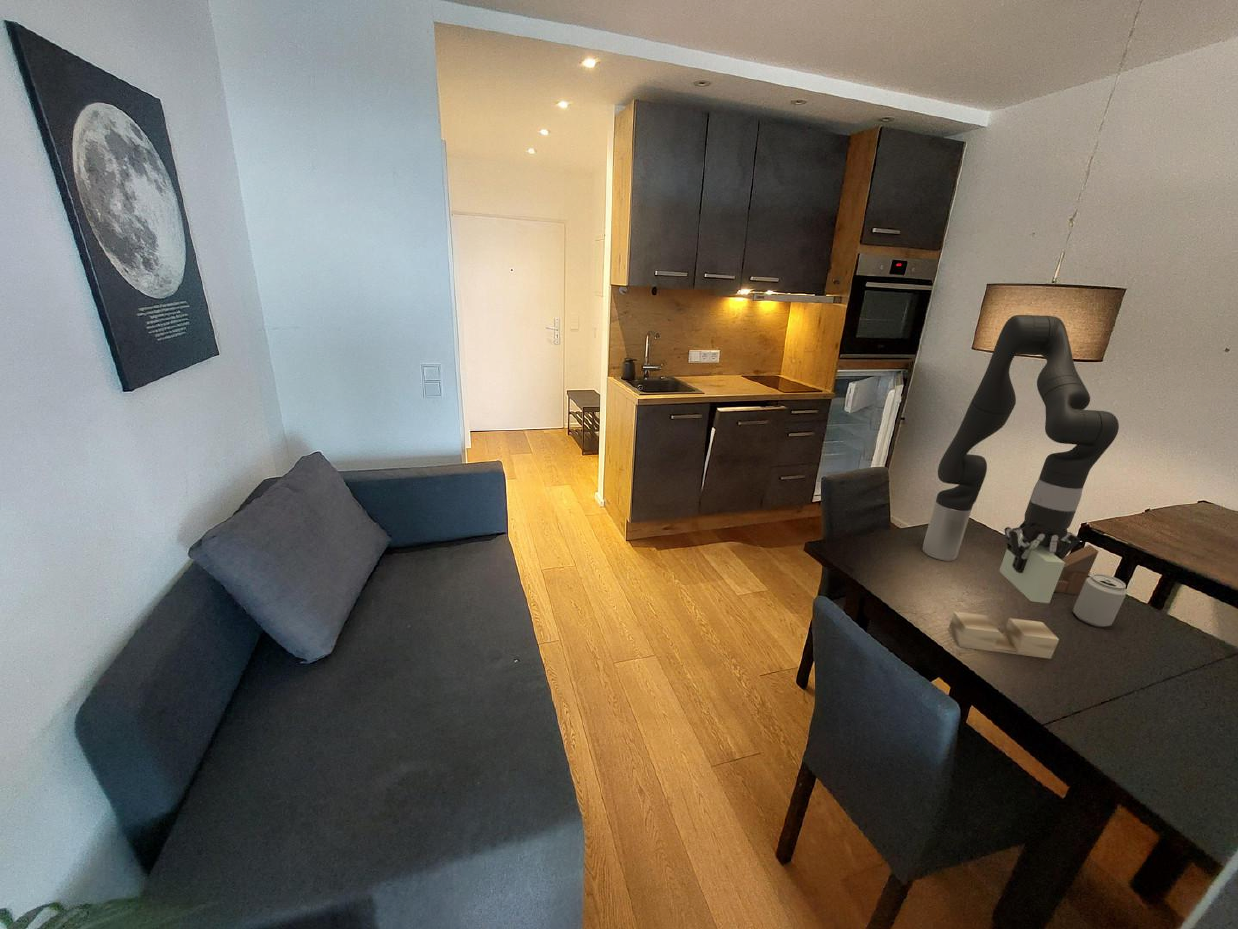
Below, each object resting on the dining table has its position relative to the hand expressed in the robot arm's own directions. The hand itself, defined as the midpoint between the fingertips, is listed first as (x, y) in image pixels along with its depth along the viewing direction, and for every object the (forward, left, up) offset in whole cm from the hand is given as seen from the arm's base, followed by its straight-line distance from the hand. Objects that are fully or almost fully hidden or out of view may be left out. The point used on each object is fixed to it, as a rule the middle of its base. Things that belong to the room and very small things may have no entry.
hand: (1027, 571), depth 107 cm
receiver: (+1, -1, -20) cm, 20 cm away
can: (-14, +28, -20) cm, 37 cm away
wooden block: (-27, +27, -20) cm, 43 cm away
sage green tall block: (0, 0, -4) cm, 4 cm away
